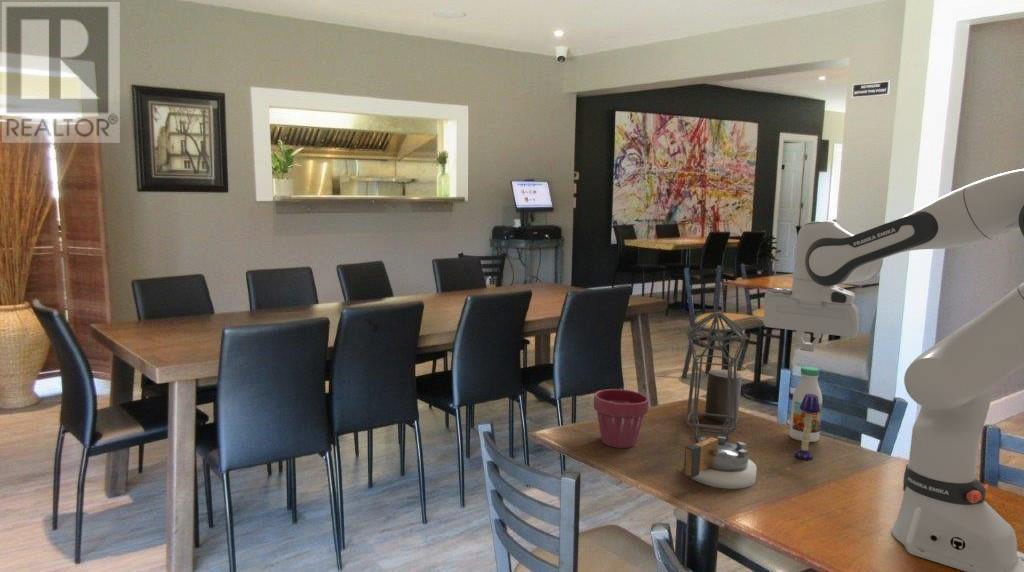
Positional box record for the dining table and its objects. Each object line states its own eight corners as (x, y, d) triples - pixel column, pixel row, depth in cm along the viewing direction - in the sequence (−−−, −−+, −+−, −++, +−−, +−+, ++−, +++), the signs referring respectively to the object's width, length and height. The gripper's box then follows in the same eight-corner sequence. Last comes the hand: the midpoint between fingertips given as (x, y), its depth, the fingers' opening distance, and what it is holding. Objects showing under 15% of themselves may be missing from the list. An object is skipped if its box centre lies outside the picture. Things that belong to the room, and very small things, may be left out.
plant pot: (645, 435, 192) (647, 390, 190) (647, 453, 178) (649, 405, 177) (593, 431, 194) (595, 386, 192) (590, 449, 180) (593, 401, 179)
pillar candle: (705, 420, 206) (709, 371, 204) (704, 410, 216) (708, 363, 214) (739, 424, 204) (744, 374, 202) (737, 414, 214) (741, 366, 211)
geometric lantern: (680, 442, 187) (687, 314, 183) (683, 426, 202) (689, 306, 198) (742, 449, 183) (749, 318, 179) (740, 432, 198) (747, 310, 194)
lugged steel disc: (711, 448, 174) (713, 421, 173) (756, 462, 166) (759, 434, 165) (664, 470, 160) (666, 440, 159) (711, 487, 151) (714, 455, 150)
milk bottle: (783, 435, 196) (788, 365, 193) (803, 431, 199) (809, 363, 196) (804, 444, 189) (811, 372, 186) (825, 440, 192) (831, 370, 189)
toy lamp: (811, 454, 181) (817, 392, 179) (817, 461, 176) (823, 398, 174) (792, 453, 182) (798, 391, 179) (798, 460, 177) (803, 396, 175)
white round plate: (769, 478, 165) (770, 465, 165) (729, 494, 155) (730, 481, 155) (712, 457, 177) (713, 445, 177) (672, 471, 167) (672, 458, 167)
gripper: (762, 288, 162) (757, 346, 164) (860, 297, 151) (853, 359, 153) (768, 285, 167) (763, 342, 169) (862, 294, 157) (856, 354, 158)
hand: (807, 350), depth 161 cm, fingers closed
